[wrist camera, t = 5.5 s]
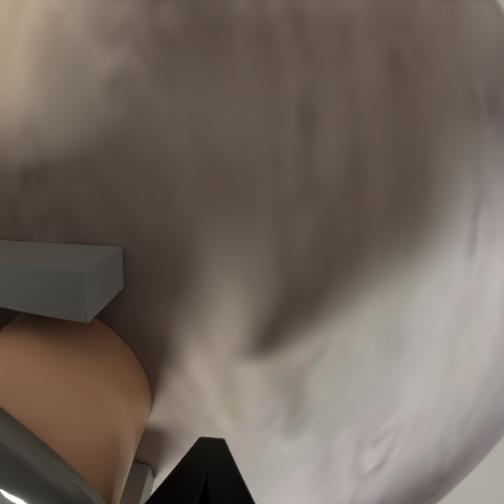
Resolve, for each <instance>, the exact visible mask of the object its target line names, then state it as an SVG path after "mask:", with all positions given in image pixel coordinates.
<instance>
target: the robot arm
mask: <svg viewBox="0 0 504 504" xmlns="http://www.w3.org/2000/svg"><path fill="white" fill-rule="evenodd" d="M144 504H255V502H254V500H253V498H252V496H251V494H250V492H249V490H248V488H247V486H246V484H245V482H244V480H243V477H242V475H241V473H240V471H239V469H238V467H237V465H236V463H235V460H234V458H233V456H232V454H231V452H230V450H229V447H228V445H227V443H226V441H225V439H223V438H214V437H199V438H198V440H197V441H196V442H195V443H194V445H193V446H192V447H191V448H190V450H189V451H188V452H187V453H186V455H185V456H184V457H183V458H182V459H181V461H180V462H179V463H178V464H177V466H176V467H175V468H174V469H173V470H172V472H171V473H170V474H169V475H168V476H167V478H166V479H165V480H164V481H163V482H162V483H161V485H160V486H159V487H158V488H157V489H156V490H155V492H154V493H153V494H152V495H151V496H150V497H149V499H148V500H147V501H146V502H145V503H144Z"/></svg>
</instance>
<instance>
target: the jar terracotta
mask: <svg viewBox="0 0 504 504" xmlns="http://www.w3.org/2000/svg"><path fill="white" fill-rule="evenodd" d="M151 404H152V397H151V389H150V385H149V382H148V379H147V376H146V373H145V371H144V369H143V367H142V365H141V364H140V362H139V360H138V359H137V357H136V356H135V354H134V353H133V352H132V350H131V349H130V348H129V347H128V345H127V344H126V343H125V342H124V341H123V340H122V339H121V338H120V337H119V336H118V335H117V334H116V333H115V332H114V331H113V330H112V329H110V328H109V327H108V326H107V325H105V324H104V323H103V322H101V321H100V320H98V319H97V318H95V317H94V318H93V319H92V320H91V321H90V322H89V323H85V322H78V321H72V320H66V319H60V318H54V317H48V316H43V315H37V314H32V313H27V312H23V313H22V314H21V315H19V316H18V317H16V318H15V319H14V320H12V321H11V322H9V323H8V324H7V325H5V326H4V327H3V328H1V329H0V504H119V501H120V498H121V495H122V492H123V489H124V486H125V483H126V480H127V477H128V474H129V471H130V468H131V465H132V462H133V459H134V457H135V454H136V451H137V448H138V445H139V442H140V439H141V436H142V434H143V431H144V428H145V425H146V422H147V420H148V417H149V414H150V410H151Z"/></svg>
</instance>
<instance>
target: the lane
mask: <svg viewBox="0 0 504 504" xmlns="http://www.w3.org/2000/svg"><path fill="white" fill-rule="evenodd" d="M123 288H124V273H123V247H118V246H100V245H83V244H65V243H48V242H31V241H13V240H0V307H2V308H7V309H12V310H17V311H22V312H27V313H32V314H37V315H43V316H48V317H54V318H60V319H66V320H72V321H78V322H85V323H89V322H90V321H91V320H92V319H93V318H94V317H95V316H96V315H97V314H98V313H99V312H100V311H101V310H102V309H103V308H104V307H105V306H106V305H107V304H108V303H109V302H110V301H111V300H112V299H113V298H114V297H115V296H116V295H117V294H118V293H119V292H120V291H121V290H122V289H123ZM153 483H154V478H153V474H152V470H151V466H150V465H146V464H140V463H135V462H132V465H131V468H130V471H129V474H128V477H127V480H126V483H125V486H124V489H123V492H122V495H121V498H120V501H119V504H144V503H145V502H146V501H147V500H148V499H149V497H150V495H151V491H152V487H153Z"/></svg>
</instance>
